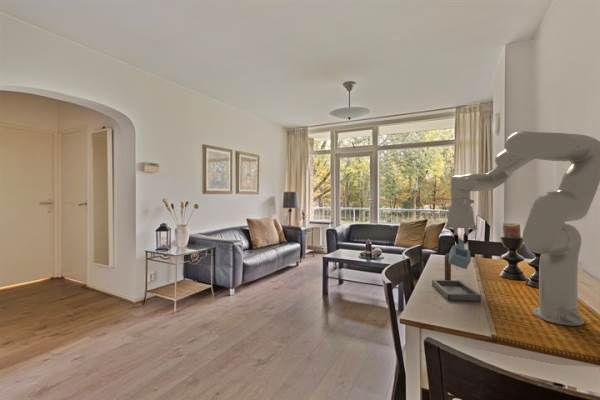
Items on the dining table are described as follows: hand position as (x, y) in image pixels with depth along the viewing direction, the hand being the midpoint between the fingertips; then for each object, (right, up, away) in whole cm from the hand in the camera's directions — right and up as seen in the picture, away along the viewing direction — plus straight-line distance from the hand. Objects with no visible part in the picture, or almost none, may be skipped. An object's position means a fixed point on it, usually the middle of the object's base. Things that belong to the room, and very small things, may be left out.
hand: (460, 243), depth 131 cm
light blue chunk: (-2, -6, -1) cm, 7 cm away
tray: (-8, -19, -10) cm, 23 cm away
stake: (-3, -19, +5) cm, 20 cm away
